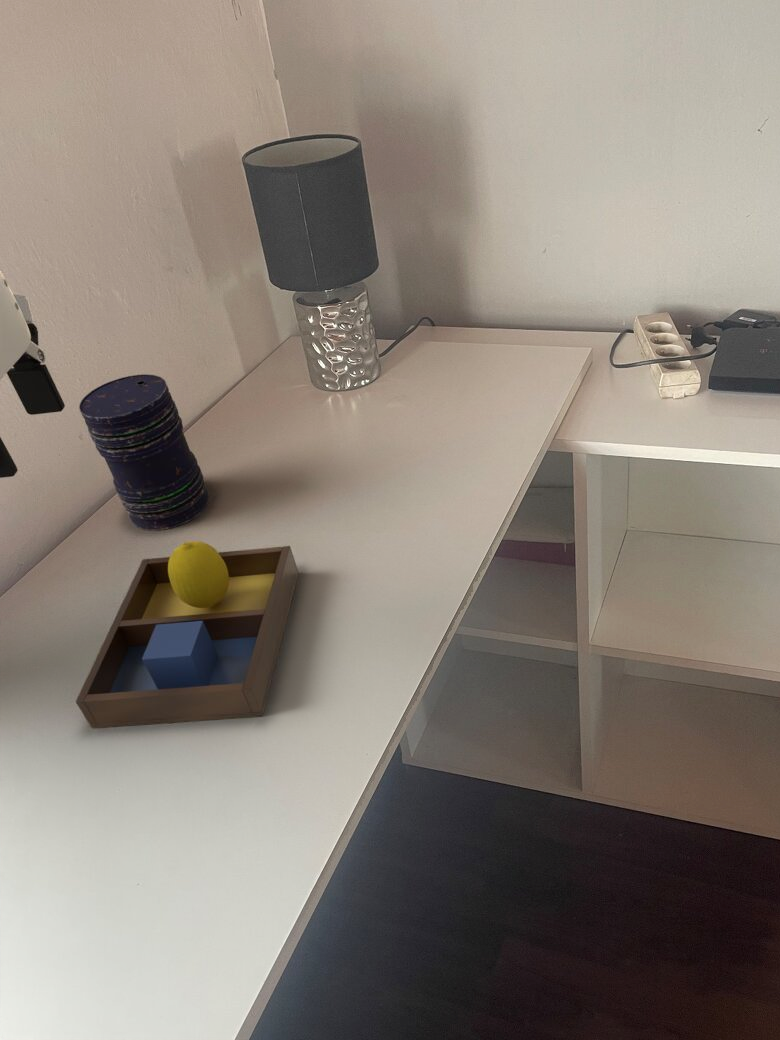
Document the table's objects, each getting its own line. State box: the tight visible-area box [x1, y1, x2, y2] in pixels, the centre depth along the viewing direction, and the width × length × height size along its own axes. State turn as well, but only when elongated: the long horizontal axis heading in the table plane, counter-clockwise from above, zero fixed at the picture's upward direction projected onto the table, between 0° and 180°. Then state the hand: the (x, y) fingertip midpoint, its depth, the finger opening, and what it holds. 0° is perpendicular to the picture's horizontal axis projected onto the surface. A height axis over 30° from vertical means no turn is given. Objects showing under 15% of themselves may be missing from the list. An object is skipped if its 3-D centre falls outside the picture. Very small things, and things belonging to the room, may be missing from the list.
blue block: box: [142, 621, 218, 689], centre depth 79 cm, size 4×4×4 cm
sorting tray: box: [75, 545, 300, 729], centre depth 84 cm, size 16×20×4 cm
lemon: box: [168, 540, 229, 608], centre depth 85 cm, size 6×6×8 cm
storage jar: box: [78, 373, 210, 532], centre depth 100 cm, size 10×10×15 cm
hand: (24, 442), depth 69 cm, fingers open, 9 cm apart
